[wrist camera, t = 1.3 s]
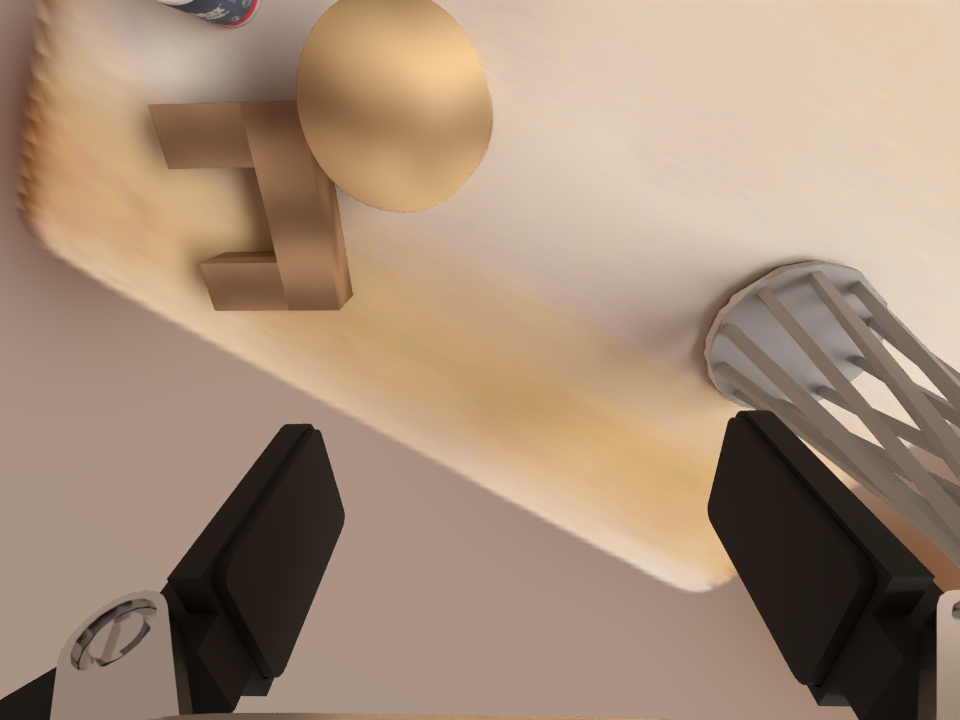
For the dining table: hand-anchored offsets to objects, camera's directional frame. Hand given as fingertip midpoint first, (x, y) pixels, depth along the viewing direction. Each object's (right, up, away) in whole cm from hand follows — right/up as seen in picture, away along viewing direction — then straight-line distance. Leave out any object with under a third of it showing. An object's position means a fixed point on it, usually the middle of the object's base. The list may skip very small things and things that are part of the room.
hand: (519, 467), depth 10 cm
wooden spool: (-5, +20, +20) cm, 28 cm away
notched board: (-17, +14, +23) cm, 32 cm away
